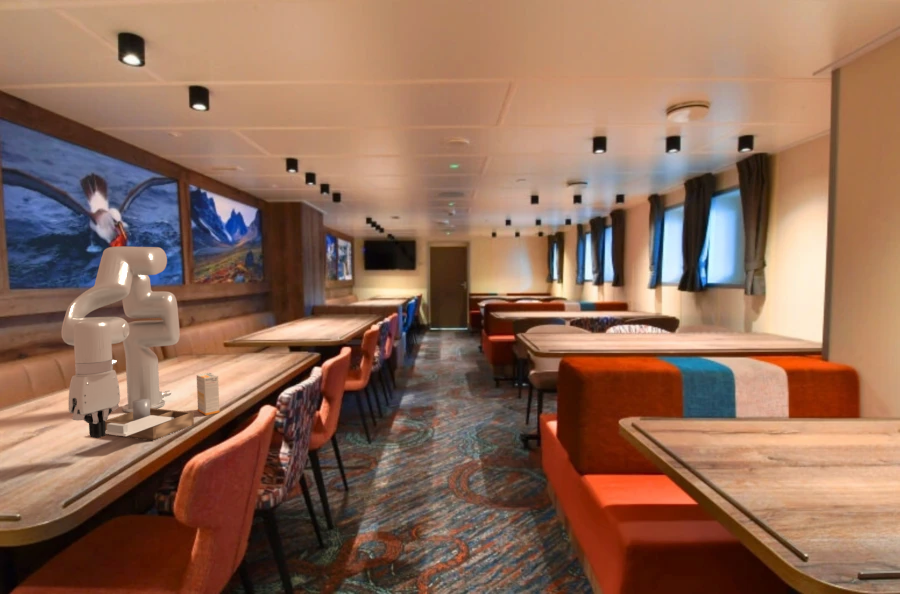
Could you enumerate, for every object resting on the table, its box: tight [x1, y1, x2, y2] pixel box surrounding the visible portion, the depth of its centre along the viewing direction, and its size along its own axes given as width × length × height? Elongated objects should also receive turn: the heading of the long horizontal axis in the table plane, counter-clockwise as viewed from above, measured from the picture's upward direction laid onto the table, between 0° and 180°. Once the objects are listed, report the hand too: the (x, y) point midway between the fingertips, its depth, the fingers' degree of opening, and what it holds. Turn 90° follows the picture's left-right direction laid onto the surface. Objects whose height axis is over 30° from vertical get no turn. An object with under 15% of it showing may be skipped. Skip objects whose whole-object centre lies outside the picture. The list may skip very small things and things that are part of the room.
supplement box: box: [196, 372, 220, 416], centre depth 152 cm, size 8×5×13 cm, turn 47°
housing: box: [105, 408, 195, 441], centre depth 135 cm, size 14×20×4 cm
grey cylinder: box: [128, 399, 150, 423], centre depth 136 cm, size 6×7×8 cm
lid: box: [105, 415, 171, 437], centre depth 126 cm, size 14×8×3 cm, turn 164°
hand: (97, 436), depth 114 cm, fingers closed
